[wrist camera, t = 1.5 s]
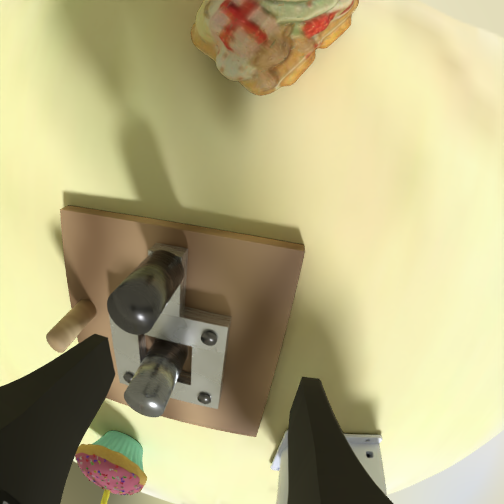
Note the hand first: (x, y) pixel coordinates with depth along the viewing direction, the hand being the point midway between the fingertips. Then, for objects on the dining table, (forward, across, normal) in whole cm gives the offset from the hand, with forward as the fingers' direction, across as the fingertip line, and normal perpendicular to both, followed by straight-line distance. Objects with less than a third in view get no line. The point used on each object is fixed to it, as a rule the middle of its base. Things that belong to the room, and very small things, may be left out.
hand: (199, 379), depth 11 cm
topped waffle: (+10, 0, -14) cm, 17 cm away
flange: (+8, +4, +5) cm, 10 cm away
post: (+10, +4, +7) cm, 12 cm away
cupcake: (+10, +11, +26) cm, 30 cm away
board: (+10, +4, +7) cm, 13 cm away
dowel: (+10, +11, +5) cm, 15 cm away
